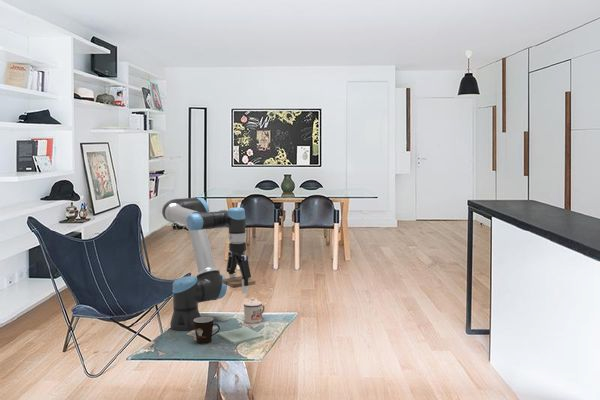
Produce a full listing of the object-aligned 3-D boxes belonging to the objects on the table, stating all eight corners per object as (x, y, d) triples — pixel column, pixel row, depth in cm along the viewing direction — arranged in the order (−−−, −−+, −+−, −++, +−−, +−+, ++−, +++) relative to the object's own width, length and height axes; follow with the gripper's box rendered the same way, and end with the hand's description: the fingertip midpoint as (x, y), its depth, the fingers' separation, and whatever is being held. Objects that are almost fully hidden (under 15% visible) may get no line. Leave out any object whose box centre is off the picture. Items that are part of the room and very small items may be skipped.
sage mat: (217, 335, 268) (217, 333, 268) (246, 328, 277) (245, 326, 276) (234, 344, 255) (234, 342, 255) (263, 337, 263) (263, 335, 263)
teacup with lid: (252, 325, 282) (251, 301, 281) (240, 321, 289) (239, 298, 288) (270, 319, 291) (270, 296, 290) (258, 316, 297) (258, 293, 296)
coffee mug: (190, 341, 260) (189, 319, 259) (207, 337, 266) (206, 315, 265) (205, 348, 251) (204, 325, 250) (221, 343, 257) (221, 320, 256)
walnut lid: (222, 282, 265) (222, 279, 265) (243, 279, 271) (243, 275, 271) (233, 288, 256) (233, 284, 256) (255, 284, 262) (255, 280, 262)
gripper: (218, 240, 269) (219, 287, 271) (242, 246, 250) (244, 296, 252) (232, 238, 274) (233, 284, 276) (258, 244, 254) (259, 294, 256)
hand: (238, 290), depth 264 cm, fingers closed on walnut lid, 11 cm apart
